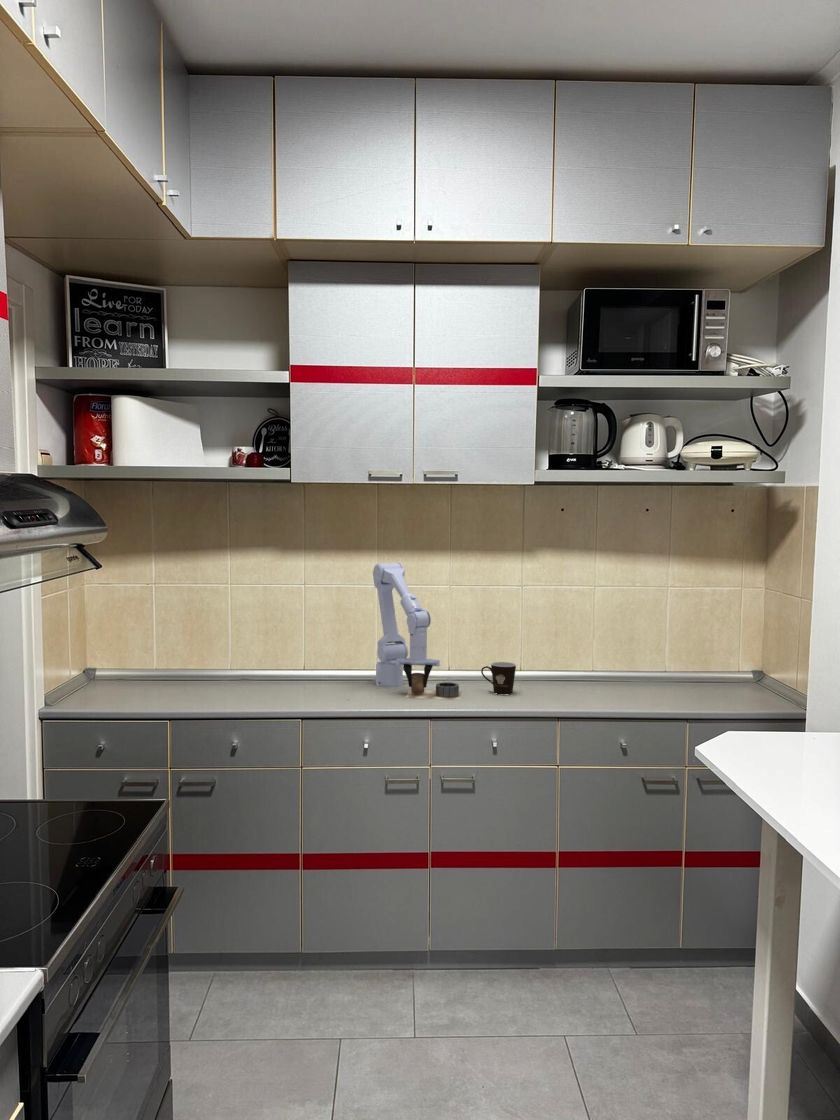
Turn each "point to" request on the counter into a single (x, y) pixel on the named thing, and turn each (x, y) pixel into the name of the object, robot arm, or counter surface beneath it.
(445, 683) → the sleeve
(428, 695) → the board
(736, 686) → the counter surface
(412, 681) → the plug
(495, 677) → the coffee mug
